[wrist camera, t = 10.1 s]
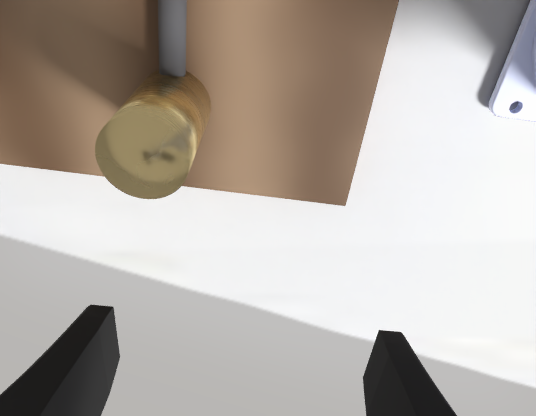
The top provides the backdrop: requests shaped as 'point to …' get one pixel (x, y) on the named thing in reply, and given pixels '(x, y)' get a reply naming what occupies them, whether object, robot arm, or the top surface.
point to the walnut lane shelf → (211, 76)
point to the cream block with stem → (157, 119)
